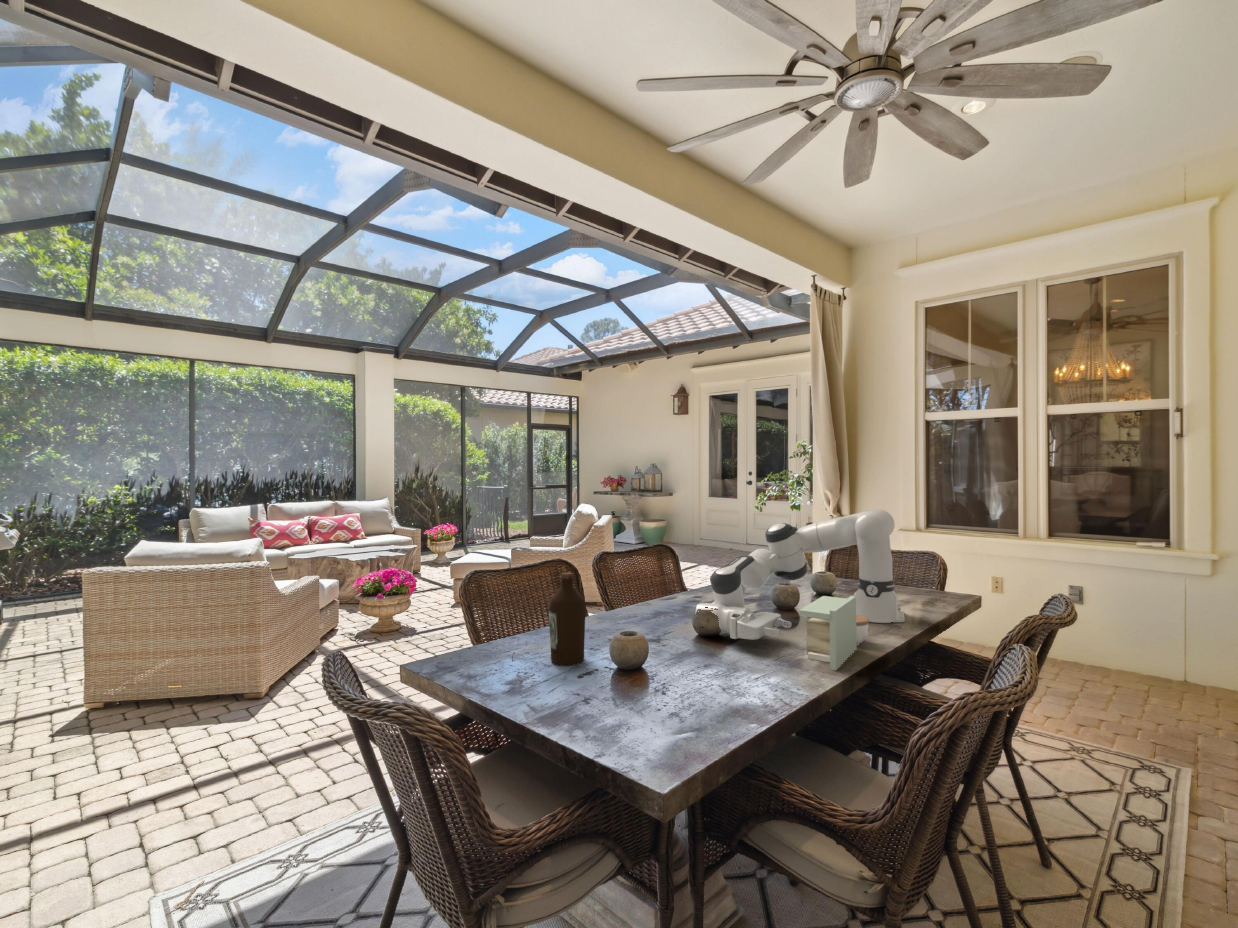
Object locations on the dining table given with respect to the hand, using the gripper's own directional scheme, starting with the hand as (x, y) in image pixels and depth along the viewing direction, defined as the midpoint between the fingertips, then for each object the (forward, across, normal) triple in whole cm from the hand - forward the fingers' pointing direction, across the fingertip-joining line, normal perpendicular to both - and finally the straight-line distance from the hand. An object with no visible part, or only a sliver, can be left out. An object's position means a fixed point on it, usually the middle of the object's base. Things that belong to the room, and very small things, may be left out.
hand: (785, 628), depth 179 cm
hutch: (+13, 0, -6) cm, 14 cm away
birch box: (+11, 0, -6) cm, 13 cm away
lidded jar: (+14, -18, -6) cm, 24 cm away
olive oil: (-48, +45, -7) cm, 66 cm away
